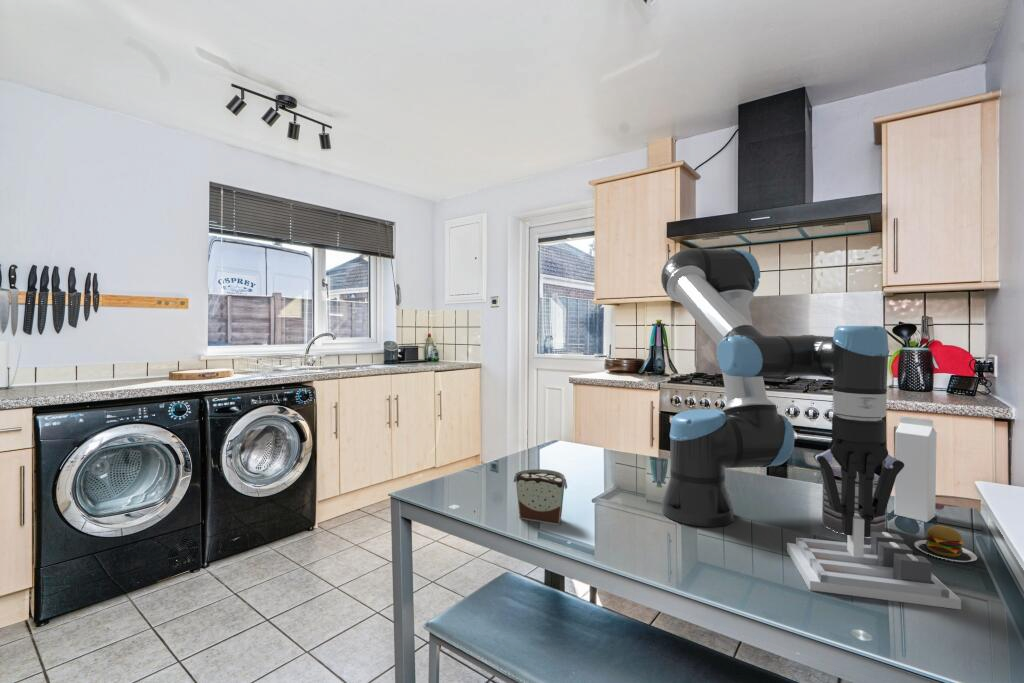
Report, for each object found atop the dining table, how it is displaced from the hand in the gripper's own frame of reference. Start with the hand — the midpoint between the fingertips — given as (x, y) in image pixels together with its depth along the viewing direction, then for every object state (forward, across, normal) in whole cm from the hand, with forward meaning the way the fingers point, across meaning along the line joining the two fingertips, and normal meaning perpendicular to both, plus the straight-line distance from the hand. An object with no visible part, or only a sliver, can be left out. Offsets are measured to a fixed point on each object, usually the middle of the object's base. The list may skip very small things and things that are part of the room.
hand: (855, 553), depth 85 cm
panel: (+4, +1, -1) cm, 4 cm away
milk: (+4, +24, +34) cm, 42 cm away
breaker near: (+2, +6, -5) cm, 8 cm away
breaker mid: (+2, +5, -1) cm, 6 cm away
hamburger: (+5, +20, +14) cm, 24 cm away
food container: (+4, -57, +12) cm, 58 cm away
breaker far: (+2, +6, +4) cm, 8 cm away
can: (+4, +8, +23) cm, 24 cm away
